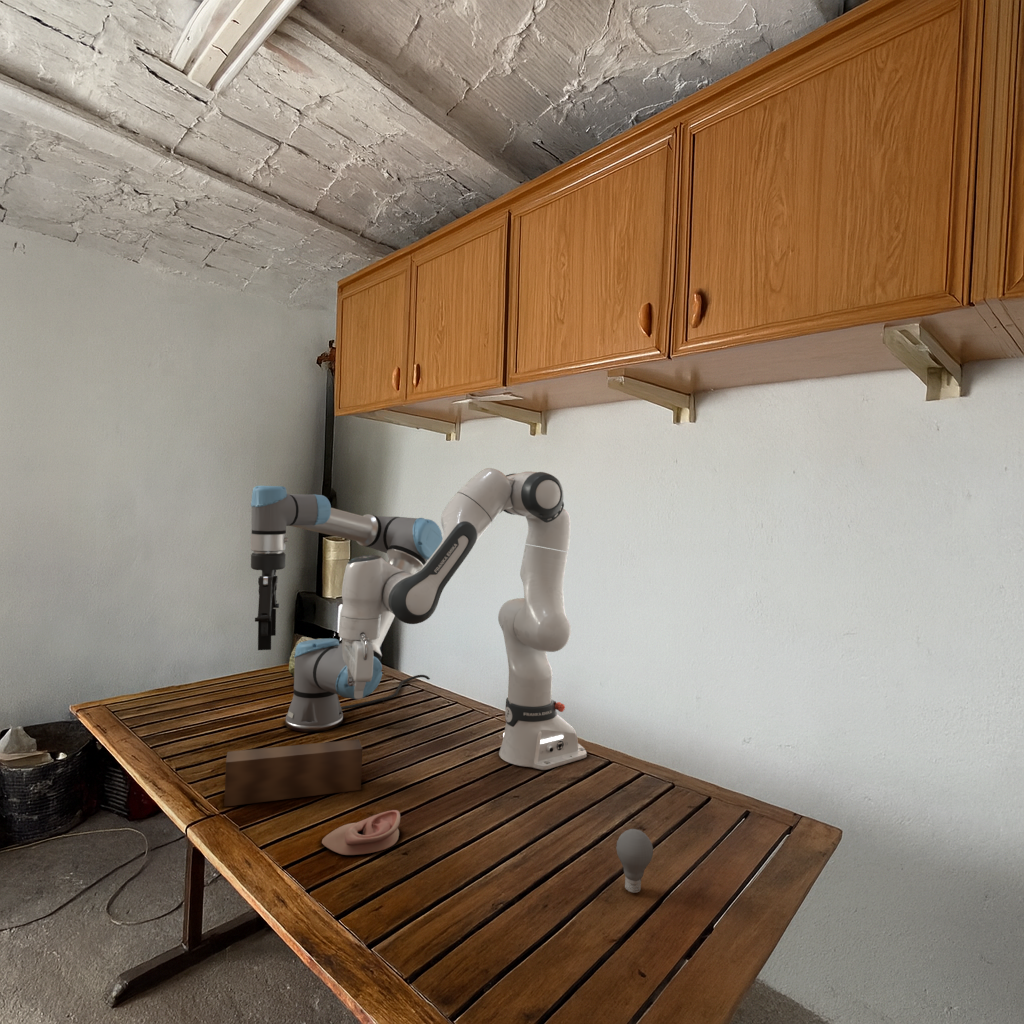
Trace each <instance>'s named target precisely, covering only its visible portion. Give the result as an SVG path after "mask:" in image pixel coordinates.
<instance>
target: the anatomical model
mask: <svg viewBox="0 0 1024 1024" xmlns="http://www.w3.org/2000/svg"><path fill="white" fill-rule="evenodd" d="M400 823H401V813H400V811H399V810H397V809H392V810H391V809H390V810H387V811H383V812H380V813H377V814H373V815H371V816H369V817H367V818H365V819H362V820H360V821H356V822H349V823H346V824H344V825H341V826H339V827H337V828H335V829H334V830H332V831H331V832H329V833H328V834H326V835H325V836H324V837H323V838H322V840H321V844H322V845H323V846H324V847H325V848H327V849H328V850H330V851H332V852H334V853H337V854H339V855H342V856H356V855H357V856H358V855H366V854H371V853H378V852H382V851H383V850H386V849H388V848H390V847H392V846H394V845H395V844H396V843H397V842H398V840H399V836H400V830H399V827H400Z"/></svg>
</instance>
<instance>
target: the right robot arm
mask: <svg viewBox="0 0 1024 1024" xmlns="http://www.w3.org/2000/svg"><path fill="white" fill-rule="evenodd" d="M502 512H504V513H507V514H508V515H513V516H514V515H515V516H519V517H525V519H526V521H527V534H526V538H525V544H524V550H523V555H522V560H521V566H520V570H519V571H520V572H519V576H520V580H521V582H522V585H523V597H519V598H518V597H517V598H511V599H509V600H507V601H505V602H504V603H503V604H502V605H501V607H500V609H499V611H498V616H497V617H498V618H497V620H498V625H499V627H500V628H501V631H502V636H503V639H504V645H505V652H506V658H507V665H508V666H507V667H508V684H507V688H508V689H507V697H506V699H505V710H504V715H505V716H504V719H505V726H504V731H503V734H502V741H501V745H500V749H499V751H498V756H499V758H500V759H502V760H503V761H504V762H506V763H508V764H511V765H514V766H519V767H526V768H533V769H536V770H539V771H540V770H541V771H547V770H550V769H553V768H557V767H560V766H563V765H566V764H570V763H573V762H576V761H581V760H583V759H586V758H587V757H588V756H587V755H588V754H587V750H586V748H585V747H584V746H582V744H580V743H579V740H578V739H579V738H578V734H577V732H576V729H575V728H574V727H573V726H572V725H571V724H570V723H569V722H567V721H566V720H565V719H564V718H563V717H562V716H560V715H559V714H558V712H560V713H563V712H564V711H565V710H566V709H565V708H566V705H565V704H564V703H561V702H560V701H556V700H554V699H552V696H553V695H552V693H553V673H554V672H553V668H552V666H551V663H550V661H549V659H548V655H547V653H555V652H558V651H561V650H562V649H564V648H565V647H566V645H568V643H569V641H570V639H571V634H572V625H571V623H570V622H571V621H570V619H568V616H567V613H566V607H565V597H564V580H565V573H566V568H567V567H566V566H567V560H568V555H569V550H570V543H571V516H570V513H569V512H568V511H567V510H566V509H565V503H564V490H563V486H562V484H561V482H560V480H559V479H558V478H557V477H556V476H555V475H552V474H550V473H548V472H545V471H522V472H518V473H509V474H506V475H505V474H504V473H503V472H502V471H500V470H499V469H496V468H492V467H488V468H483V469H481V471H479V472H478V473H476V474H475V475H473V477H471V478H470V479H468V481H467V482H466V483H465V484H463V486H461V488H460V489H459V490H458V491H457V492H456V493H455V494H454V496H452V498H451V499H450V500H449V501H448V502H447V504H446V506H445V507H444V509H443V510H442V512H441V515H440V524H441V527H442V530H443V535H442V538H443V540H442V542H441V544H440V545H439V546H438V548H437V549H436V550H435V552H434V553H433V554H432V556H431V557H430V558H429V559H428V560H427V562H426V563H425V565H424V566H423V567H422V568H421V569H420V570H419V571H417V572H416V573H414V574H411V573H409V572H406V571H403V570H401V569H399V568H397V567H395V566H393V565H391V564H389V563H388V561H386V560H385V559H384V558H383V557H382V556H381V555H378V554H377V555H376V554H365V555H359V556H355V557H352V558H351V559H350V560H349V561H348V562H347V564H346V566H345V569H344V573H343V578H342V579H343V580H342V586H341V599H342V607H341V610H340V612H339V624H338V625H339V626H338V637H339V638H340V639H341V641H342V654H343V660H344V662H345V663H346V665H347V672H348V685H349V686H355V689H354V698H355V699H354V700H362V699H364V698H363V690H364V687H365V684H366V682H370V681H371V680H372V676H373V640H374V639H377V638H379V636H380V623H381V613H382V612H383V611H390V612H391V613H393V614H394V615H395V618H397V620H399V621H400V622H402V623H404V624H407V625H416V624H417V625H418V624H421V623H423V622H425V621H427V620H428V619H429V618H431V617H432V615H433V614H434V613H435V611H436V609H437V608H438V604H439V601H440V598H441V595H442V593H443V591H444V589H445V588H446V586H447V585H448V583H449V581H450V580H451V578H453V576H454V575H455V574H456V572H457V571H458V569H459V568H460V566H461V565H462V564H463V562H464V561H465V560H466V558H467V557H468V555H470V553H471V551H472V549H473V548H474V546H475V545H476V543H477V542H478V541H479V539H480V538H481V537H482V535H483V534H484V533H485V532H486V530H488V528H489V527H490V526H491V525H492V524H493V522H494V521H496V519H497V517H498V516H499V514H501V513H502ZM361 698H362V699H361ZM557 711H558V712H557Z"/></svg>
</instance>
